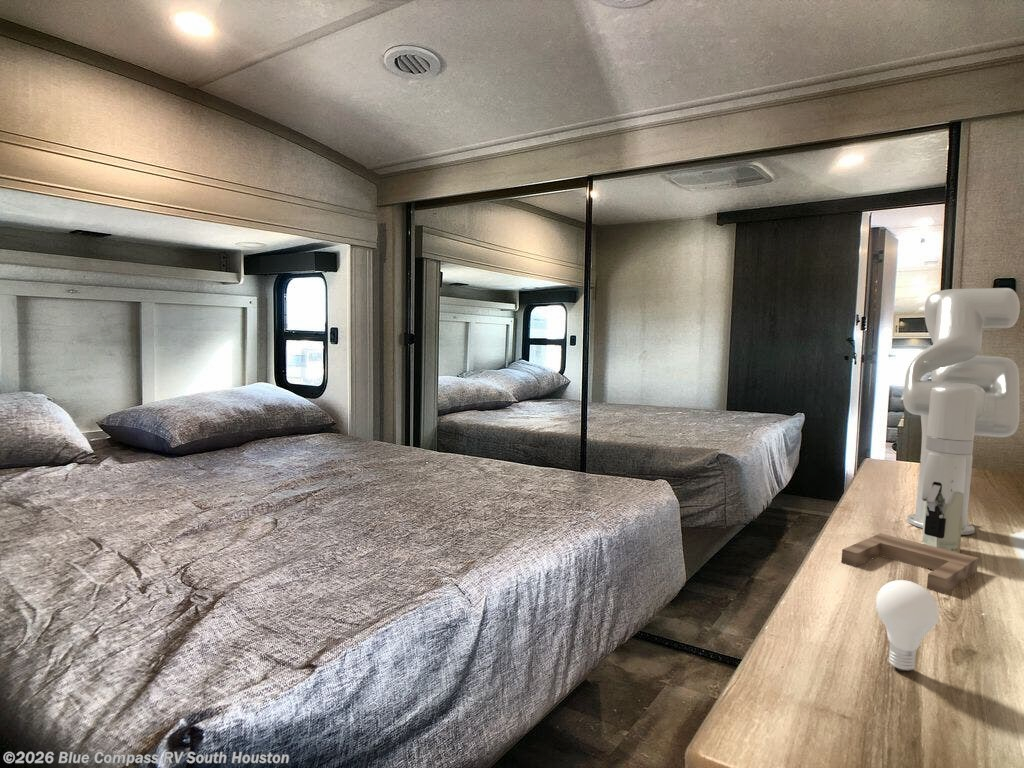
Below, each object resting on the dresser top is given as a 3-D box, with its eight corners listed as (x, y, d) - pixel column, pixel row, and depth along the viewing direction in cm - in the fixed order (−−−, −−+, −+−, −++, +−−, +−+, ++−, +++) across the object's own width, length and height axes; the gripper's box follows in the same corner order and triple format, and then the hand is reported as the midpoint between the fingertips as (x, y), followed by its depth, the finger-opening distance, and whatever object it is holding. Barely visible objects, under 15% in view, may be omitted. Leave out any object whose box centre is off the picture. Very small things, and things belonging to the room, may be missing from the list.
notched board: (879, 545, 118) (880, 533, 118) (976, 571, 106) (978, 557, 105) (841, 562, 107) (842, 549, 107) (944, 593, 95) (946, 579, 94)
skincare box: (960, 554, 114) (966, 494, 113) (934, 552, 115) (940, 492, 114) (943, 543, 120) (948, 486, 119) (919, 541, 121) (924, 484, 120)
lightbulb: (858, 655, 74) (865, 571, 73) (905, 655, 74) (912, 571, 73) (895, 684, 67) (904, 593, 67) (946, 684, 68) (954, 593, 67)
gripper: (940, 439, 124) (933, 520, 125) (911, 447, 113) (903, 535, 115) (984, 445, 118) (976, 529, 119) (957, 454, 107) (949, 546, 109)
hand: (940, 531), depth 117 cm, fingers closed on skincare box, 7 cm apart
